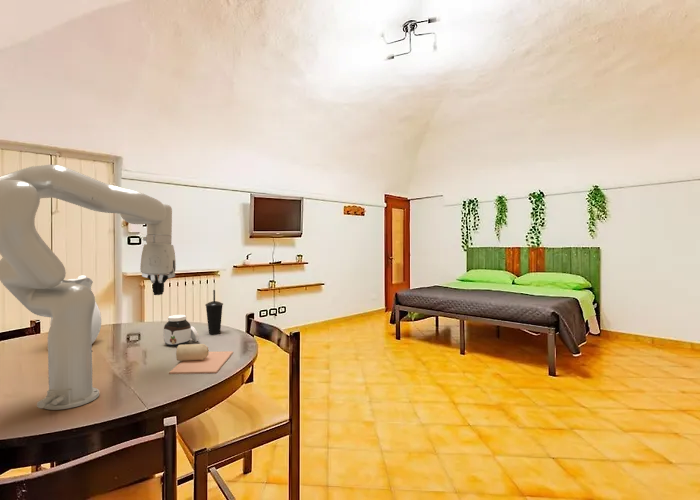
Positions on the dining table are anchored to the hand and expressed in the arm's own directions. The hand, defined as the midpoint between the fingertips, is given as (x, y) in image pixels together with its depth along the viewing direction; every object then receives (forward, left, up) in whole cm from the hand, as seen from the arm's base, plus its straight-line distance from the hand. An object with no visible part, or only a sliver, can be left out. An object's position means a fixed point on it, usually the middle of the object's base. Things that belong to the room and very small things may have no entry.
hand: (158, 294), depth 130 cm
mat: (+3, -14, -25) cm, 28 cm away
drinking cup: (+44, -6, -25) cm, 51 cm away
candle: (+4, -5, -21) cm, 22 cm away
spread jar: (+28, +3, -25) cm, 38 cm away
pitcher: (+31, +46, -25) cm, 61 cm away
